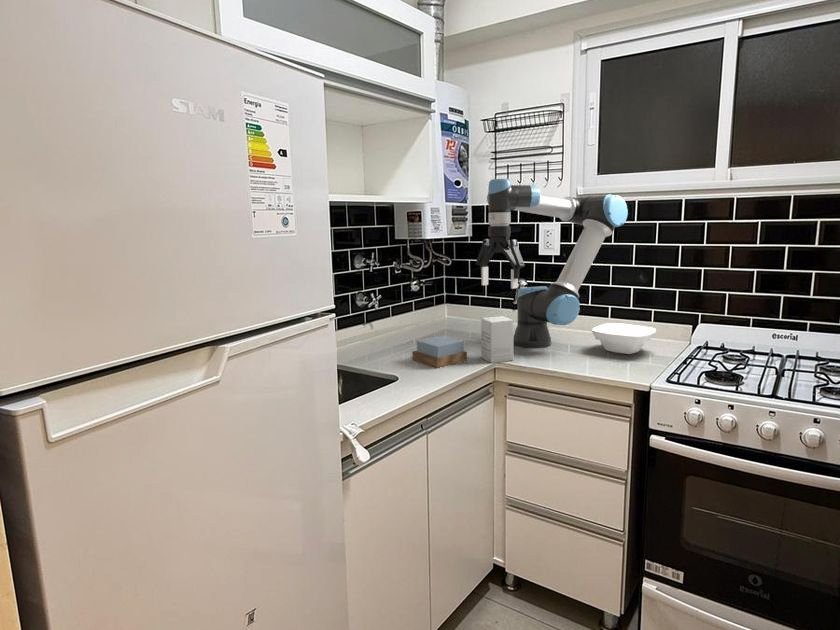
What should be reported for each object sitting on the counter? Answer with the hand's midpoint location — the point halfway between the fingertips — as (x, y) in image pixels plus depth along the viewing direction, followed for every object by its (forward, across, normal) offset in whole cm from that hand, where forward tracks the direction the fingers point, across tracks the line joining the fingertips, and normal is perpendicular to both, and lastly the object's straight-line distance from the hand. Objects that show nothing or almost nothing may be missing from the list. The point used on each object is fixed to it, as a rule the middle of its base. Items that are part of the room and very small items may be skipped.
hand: (499, 286), depth 187 cm
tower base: (+27, -14, -16) cm, 35 cm away
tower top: (+23, -14, -16) cm, 31 cm away
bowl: (+27, +25, +41) cm, 55 cm away
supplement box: (+27, -1, 0) cm, 27 cm away
